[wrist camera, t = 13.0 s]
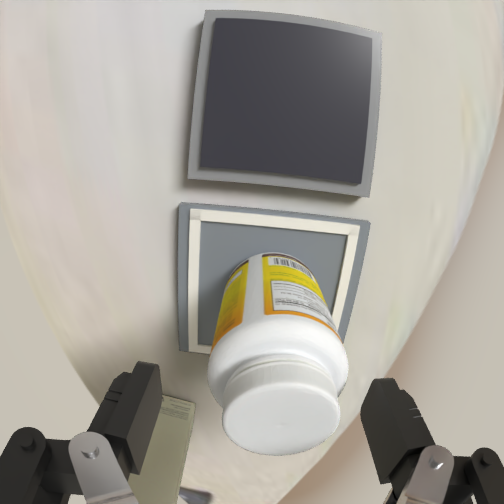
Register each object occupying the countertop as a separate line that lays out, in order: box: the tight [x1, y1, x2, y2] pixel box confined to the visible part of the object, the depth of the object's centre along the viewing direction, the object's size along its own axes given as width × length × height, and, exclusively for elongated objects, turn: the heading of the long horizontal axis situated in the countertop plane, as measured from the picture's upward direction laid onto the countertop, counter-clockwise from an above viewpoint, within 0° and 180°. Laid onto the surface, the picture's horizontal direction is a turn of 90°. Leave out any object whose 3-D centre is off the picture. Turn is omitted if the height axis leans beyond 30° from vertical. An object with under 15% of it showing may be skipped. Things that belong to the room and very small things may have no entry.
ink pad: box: [188, 10, 382, 198], centre depth 15 cm, size 10×10×1 cm
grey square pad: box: [178, 202, 371, 355], centre depth 19 cm, size 11×10×1 cm
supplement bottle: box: [207, 252, 348, 456], centre depth 14 cm, size 6×6×10 cm
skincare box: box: [128, 395, 195, 504], centre depth 18 cm, size 6×4×12 cm
